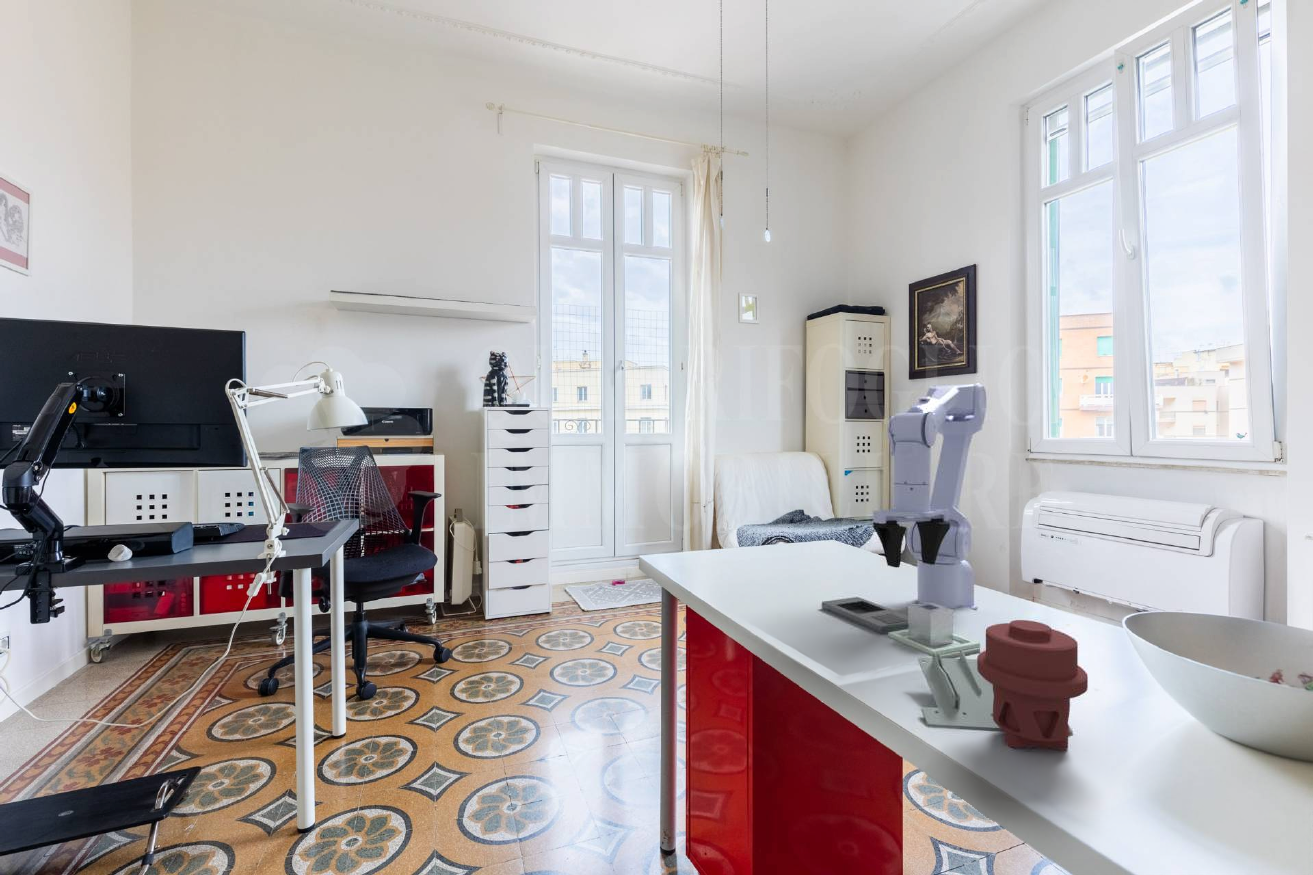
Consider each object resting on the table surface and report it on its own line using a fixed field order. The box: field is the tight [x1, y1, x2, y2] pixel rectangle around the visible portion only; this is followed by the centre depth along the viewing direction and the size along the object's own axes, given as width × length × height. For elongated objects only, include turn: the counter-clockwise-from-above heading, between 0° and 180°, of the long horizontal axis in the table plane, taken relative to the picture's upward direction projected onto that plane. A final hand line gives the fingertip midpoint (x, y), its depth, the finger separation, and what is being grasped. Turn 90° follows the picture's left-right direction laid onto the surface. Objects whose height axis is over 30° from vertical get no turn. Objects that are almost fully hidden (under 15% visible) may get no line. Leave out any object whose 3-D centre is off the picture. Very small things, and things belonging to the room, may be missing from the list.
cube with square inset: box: [907, 602, 954, 648], centre depth 93 cm, size 4×4×6 cm
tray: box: [887, 629, 981, 659], centre depth 92 cm, size 9×9×2 cm
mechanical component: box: [976, 619, 1089, 751], centre depth 65 cm, size 12×10×10 cm
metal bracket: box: [917, 650, 1074, 737], centre depth 73 cm, size 14×6×15 cm
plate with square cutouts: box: [821, 596, 908, 635], centre depth 104 cm, size 8×15×2 cm, turn 22°
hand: (911, 565), depth 102 cm, fingers open, 7 cm apart
